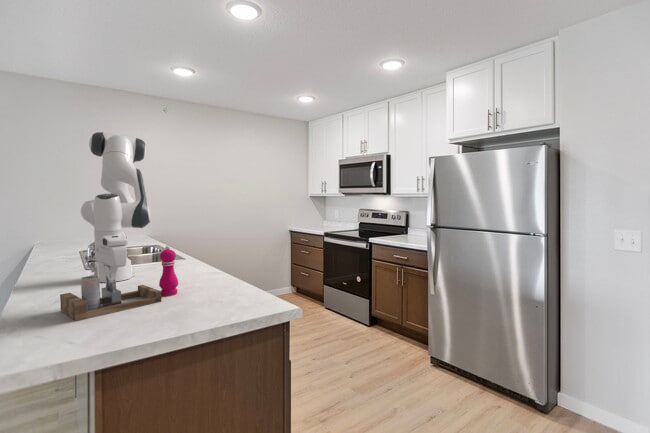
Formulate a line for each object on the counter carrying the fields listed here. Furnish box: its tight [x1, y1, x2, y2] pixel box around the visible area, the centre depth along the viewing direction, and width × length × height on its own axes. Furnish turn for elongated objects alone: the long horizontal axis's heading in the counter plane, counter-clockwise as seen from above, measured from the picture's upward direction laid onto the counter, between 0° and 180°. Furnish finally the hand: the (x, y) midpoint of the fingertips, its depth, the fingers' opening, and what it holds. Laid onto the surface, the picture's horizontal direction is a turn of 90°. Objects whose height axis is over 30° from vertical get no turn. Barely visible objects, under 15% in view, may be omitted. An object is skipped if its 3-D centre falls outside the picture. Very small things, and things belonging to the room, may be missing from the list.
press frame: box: [59, 284, 162, 322], centre depth 131 cm, size 16×28×6 cm, turn 140°
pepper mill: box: [158, 245, 179, 297], centre depth 147 cm, size 7×7×20 cm
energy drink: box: [80, 275, 101, 311], centre depth 126 cm, size 5×5×12 cm
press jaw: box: [101, 265, 122, 307], centre depth 131 cm, size 10×3×15 cm, turn 50°
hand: (110, 276), depth 131 cm, fingers closed on press jaw, 3 cm apart
